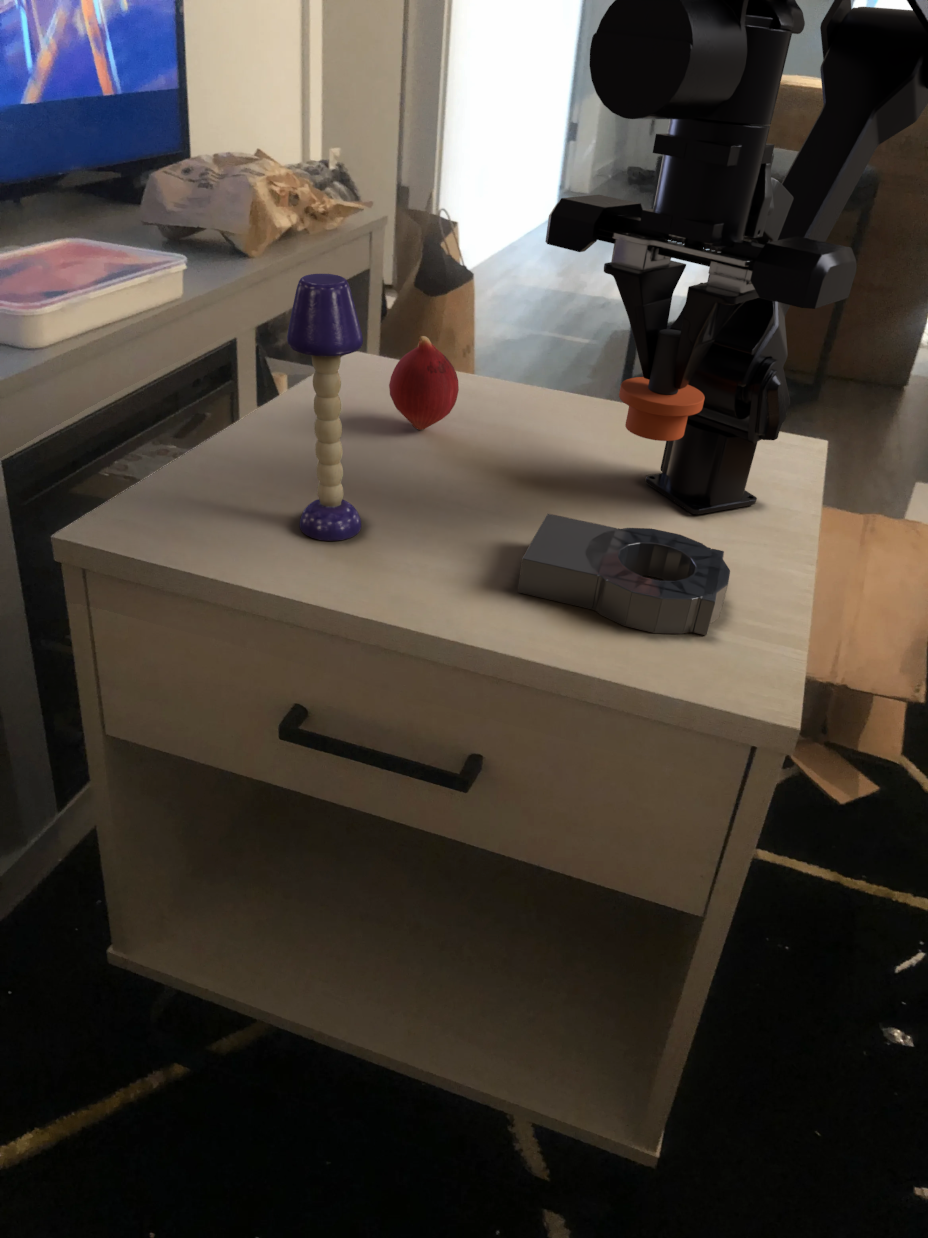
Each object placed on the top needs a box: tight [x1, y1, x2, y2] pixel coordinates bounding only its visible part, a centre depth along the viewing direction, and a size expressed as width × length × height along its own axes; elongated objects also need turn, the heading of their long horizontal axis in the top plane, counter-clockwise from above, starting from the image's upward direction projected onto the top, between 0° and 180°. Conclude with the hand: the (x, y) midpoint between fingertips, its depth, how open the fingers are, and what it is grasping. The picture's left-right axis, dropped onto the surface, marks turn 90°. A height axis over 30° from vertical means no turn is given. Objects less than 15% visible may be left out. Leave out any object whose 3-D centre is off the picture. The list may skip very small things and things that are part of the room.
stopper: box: [618, 328, 705, 442], centre depth 63 cm, size 6×6×7 cm
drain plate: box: [517, 513, 731, 636], centre depth 61 cm, size 13×9×2 cm
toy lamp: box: [286, 273, 364, 542], centre depth 61 cm, size 5×5×17 cm
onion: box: [388, 335, 460, 431], centre depth 80 cm, size 6×6×8 cm
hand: (665, 382), depth 63 cm, fingers closed on stopper
